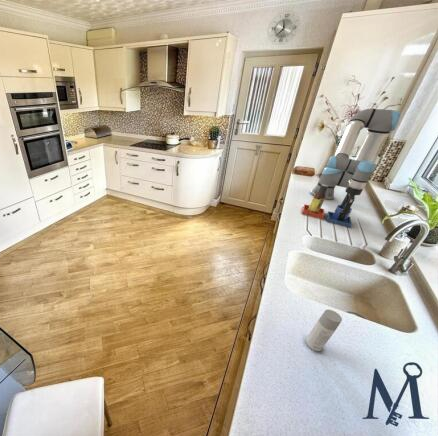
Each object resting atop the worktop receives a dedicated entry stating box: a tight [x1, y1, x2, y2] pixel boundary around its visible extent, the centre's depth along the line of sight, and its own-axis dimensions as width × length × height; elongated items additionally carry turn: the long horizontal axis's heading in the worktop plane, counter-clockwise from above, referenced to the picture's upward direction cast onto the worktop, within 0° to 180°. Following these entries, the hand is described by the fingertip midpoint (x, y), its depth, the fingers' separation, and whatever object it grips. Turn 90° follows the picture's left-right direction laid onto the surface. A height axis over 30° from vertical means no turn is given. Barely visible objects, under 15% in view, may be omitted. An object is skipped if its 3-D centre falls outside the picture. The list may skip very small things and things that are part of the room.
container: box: [305, 309, 343, 353], centre depth 74 cm, size 5×5×15 cm
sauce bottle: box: [308, 184, 328, 214], centre depth 156 cm, size 6×6×20 cm
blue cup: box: [332, 204, 353, 222], centre depth 150 cm, size 8×8×9 cm
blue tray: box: [326, 211, 353, 228], centre depth 152 cm, size 12×12×2 cm
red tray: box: [301, 203, 325, 220], centre depth 160 cm, size 12×12×2 cm
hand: (338, 219), depth 153 cm, fingers closed on blue cup, 8 cm apart
